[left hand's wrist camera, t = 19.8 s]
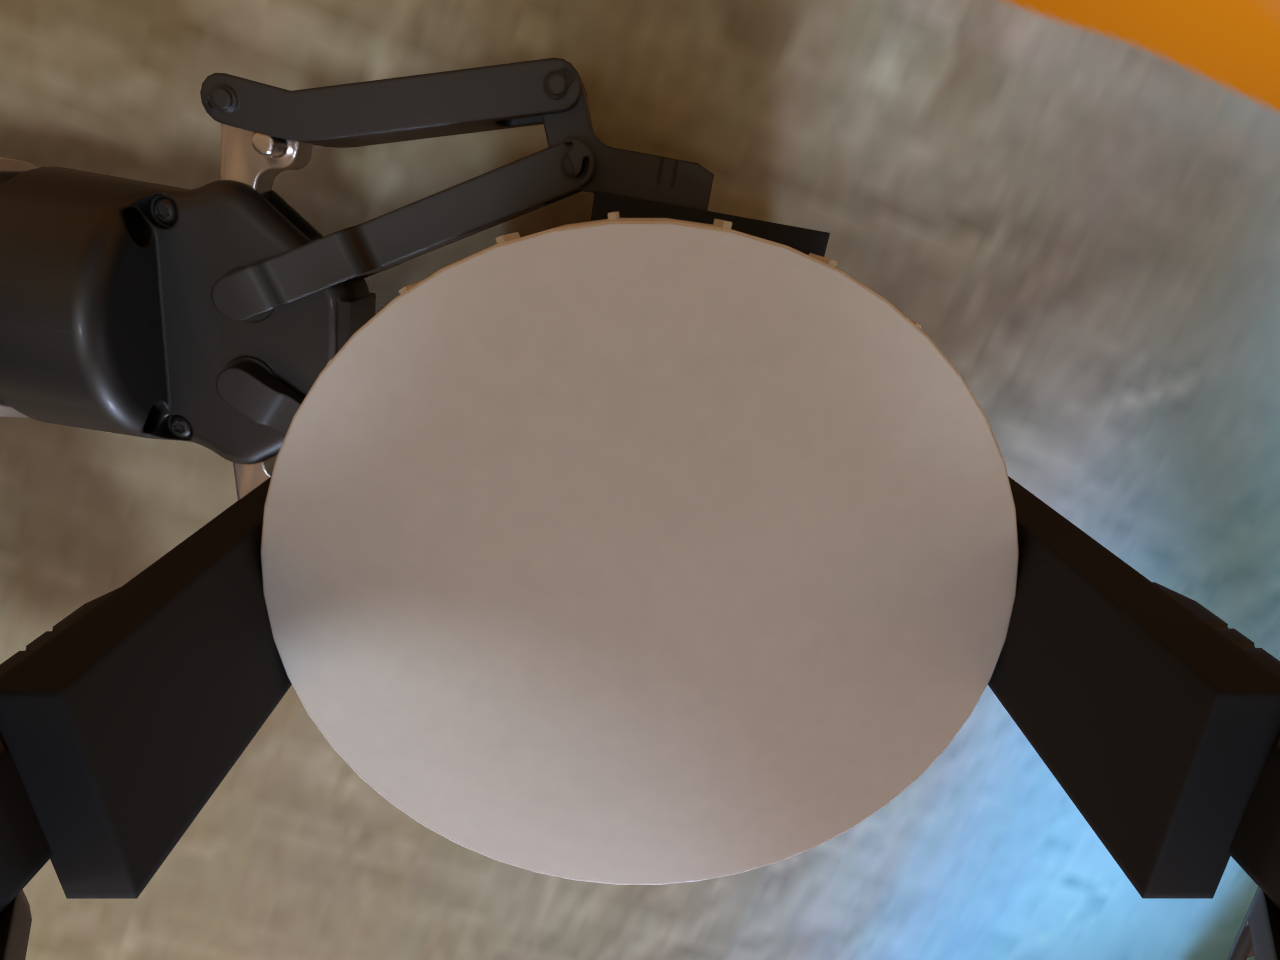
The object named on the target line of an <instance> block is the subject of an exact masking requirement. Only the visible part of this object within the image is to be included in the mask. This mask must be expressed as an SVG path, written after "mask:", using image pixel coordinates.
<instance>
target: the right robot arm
mask: <svg viewBox="0 0 1280 960" xmlns="http://www.w3.org/2000/svg"><path fill="white" fill-rule="evenodd" d="M200 93H201V100H202V104H203V106H204V108H205V110H206V111H207V113H208V114H209V115H210V116H211V117H212V118H213V119H214V120H216V121H218V122H220V123H222V134H221V174H220V180H219V181H214V182H211V183H209V184H207V185H205V186H203V187H200V188H196V189H192V190H190V189H183V188H177V187H171V186H166V185H160V184H154V183H148V182H142V181H137V180H131V179H125V178H119V177H114V176H108V175H102V174H96V173H90V172H85V171H79V170H73V169H67V168H60V167H41V168H40V167H38V166H36V165H33V164H31V163H29V162H27V161H22V160H16V159H10V158H4V157H0V416H1V417H17V418H27V417H30V418H33V419H36V420H39V421H42V422H48V423H54V424H60V425H67V426H73V427H80V428H86V429H93V430H99V431H106V432H112V433H119V434H125V435H132V436H138V437H145V438H153V439H165V440H182V441H190V442H194V443H197V444H200V445H202V446H205V447H207V448H209V449H210V450H212V451H214V452H215V453H217V454H218V455H220V456H221V457H223V458H225V459H227V460H229V461H231V462H233V465H234V473H235V481H236V488H237V496H238V501H239V500H240V499H241V498H243V497H244V496H245V495H247V494H248V493H249V492H251V491H252V490H253V489H255V488H256V487H257V486H259V485H260V484H262V483H263V482H264V481H266V480H267V479H268V478H270V477H271V476H272V472H273V468H274V464H275V460H276V458H277V454H278V453H279V450H280V448H281V446H282V443H283V441H284V438H285V436H286V434H287V431H288V429H289V426H290V424H291V422H292V419H293V417H294V415H295V413H296V412H297V410H298V408H299V407H300V405H301V404H302V402H303V400H304V399H305V397H306V395H307V394H308V392H309V390H310V389H311V387H312V386H313V384H314V382H315V381H316V379H317V377H318V376H319V374H320V373H321V372H322V370H323V369H324V368H325V367H326V366H327V363H328V362H329V361H330V360H331V359H333V358H334V356H335V355H336V354H337V353H338V352H339V350H340V349H341V348H342V347H343V346H344V345H345V343H346V342H347V341H348V340H349V339H350V338H351V336H352V335H353V334H354V333H355V332H356V331H358V330H359V329H360V328H361V327H362V326H363V325H364V324H366V323H367V322H368V321H369V320H370V319H371V318H373V317H374V316H375V301H376V294H375V293H369V289H368V286H367V284H366V281H365V279H364V278H366V277H369V276H371V275H374V274H376V273H379V272H381V271H384V270H387V269H389V268H392V267H394V266H397V265H399V264H401V263H403V262H405V261H407V260H410V259H412V258H415V257H417V256H420V255H422V254H425V253H428V252H430V251H433V250H435V249H438V248H440V247H443V246H445V245H448V244H450V243H453V242H455V241H458V240H460V239H463V238H465V237H468V236H470V235H473V234H475V233H478V232H480V231H483V230H485V229H488V228H491V227H493V226H496V225H498V224H501V223H503V222H506V221H508V220H511V219H513V218H516V217H518V216H521V215H523V214H526V213H528V212H531V211H533V210H536V209H538V208H541V207H543V206H546V205H548V204H551V203H554V202H556V201H559V200H561V199H564V198H566V197H569V196H571V195H574V194H576V193H579V192H581V191H587V192H592V193H595V194H594V202H593V209H592V217H591V220H592V221H597V220H604V219H608V213H611V212H619V218H669V219H676V220H683V221H690V222H697V223H704V224H711V225H713V223H714V219H719V220H724V221H729V222H732V227H731V229H732V230H735V231H738V232H742V233H745V234H749V235H752V236H756V237H759V238H762V239H766V240H769V241H773V242H776V243H780V244H783V245H786V246H789V247H791V248H793V249H796V250H798V251H800V252H802V253H804V254H807V255H809V254H810V253H812V254H815V255H819V256H822V257H824V255H825V251H826V247H827V243H828V239H829V235H830V233H827V232H821V231H815V230H810V229H804V228H799V227H793V226H788V225H782V224H776V223H771V222H765V221H760V220H754V219H749V218H743V217H737V216H732V215H726V214H721V213H715V212H710V211H707V208H708V203H709V198H710V192H711V187H712V182H713V176H714V174H712V173H711V172H710V171H708V170H707V169H705V168H704V167H702V166H701V165H699V164H698V163H693V162H688V161H682V160H676V159H671V158H666V157H660V156H655V155H649V154H644V153H639V152H633V151H628V150H622V149H617V148H612V147H609V146H606V145H605V144H603V143H602V142H600V141H599V140H598V139H597V137H596V136H595V134H594V131H593V128H592V123H591V118H590V113H589V108H588V102H587V94H586V91H585V87H584V85H583V83H582V81H581V79H580V76H579V74H578V72H577V71H576V70H575V68H574V67H573V66H572V64H571V63H569V62H567V61H566V60H564V59H558V58H550V59H542V60H534V61H526V62H518V63H510V64H502V65H494V66H486V67H478V68H470V69H462V70H454V71H446V72H438V73H430V74H422V75H414V76H407V77H399V78H391V79H383V80H375V81H367V82H359V83H351V84H343V85H335V86H327V87H319V88H311V89H303V90H295V91H289V90H285V89H282V88H278V87H274V86H270V85H266V84H263V83H259V82H255V81H251V80H248V79H244V78H240V77H236V76H233V75H229V74H225V73H214V74H212V75H210V76H208V77H207V78H206V79H205V81H204V82H203V83H202V88H201V92H200ZM539 124H544V127H545V132H546V136H547V141H548V146H549V148H546V149H544V150H541V151H539V152H536V153H534V154H531V155H529V156H526V157H524V158H522V159H519V160H517V161H514V162H512V163H509V164H507V165H504V166H502V167H500V168H497V169H495V170H492V171H490V172H487V173H485V174H482V175H480V176H477V177H475V178H473V179H470V180H468V181H465V182H463V183H460V184H458V185H455V186H453V187H450V188H448V189H446V190H443V191H441V192H438V193H436V194H433V195H431V196H428V197H426V198H423V199H421V200H419V201H416V202H414V203H411V204H409V205H406V206H404V207H401V208H399V209H396V210H394V211H392V212H389V213H387V214H384V215H382V216H379V217H377V218H374V219H372V220H370V221H367V222H365V223H362V224H359V225H357V226H354V227H350V228H346V229H343V230H340V231H337V232H335V233H332V234H330V235H327V236H325V237H324V236H322V235H321V234H320V233H319V232H318V231H317V230H316V229H315V228H314V227H313V226H312V225H310V224H309V223H308V222H307V221H306V220H305V219H304V218H303V217H302V216H301V215H300V214H299V213H297V212H296V211H295V210H294V209H293V208H292V207H291V206H290V205H289V204H288V203H287V202H285V201H284V200H283V199H282V198H281V197H280V196H279V195H278V194H277V193H275V192H274V191H273V190H272V184H273V181H274V179H275V177H276V176H277V175H278V174H279V173H280V172H282V171H285V170H299V169H301V168H304V167H305V166H306V165H307V164H308V163H309V161H310V159H311V155H312V146H313V145H319V146H325V147H339V148H344V147H359V146H367V145H375V144H383V143H392V142H400V141H408V140H416V139H424V138H433V137H441V136H449V135H457V134H465V133H474V132H482V131H490V130H498V129H506V128H515V127H523V126H531V125H539Z"/></svg>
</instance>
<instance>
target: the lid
mask: <svg viewBox="0 0 1280 960" xmlns="http://www.w3.org/2000/svg"><path fill="white" fill-rule="evenodd" d="M731 227H732V222H729V221H724V220H719V219H714V223H713V225H711V224H704V223H697V222H690V221H683V220H676V219H669V218H619V212H611V213H608V219H604V220H597V221H589V222H582V223H575V224H567V225H563V226H559V227H556V228H552V229H549V230H545V231H542V232H538V233H534V234H531V235H527V236H524V237H520V235H519V233H518V232H515V233H510V234H506V235H502V236H499V237H496V238H495V240H496V242H497V244H496V245H493V246H491V247H489V248H486V249H484V250H482V251H480V252H477V253H475V254H473V255H471V256H469V257H466V258H464V259H462V260H460V261H457V262H455V263H453V264H451V265H448V266H446V267H444V268H442V269H440V270H439V271H437V272H435V273H434V274H432V275H431V276H429V277H428V278H426V279H424V280H422V281H419V282H416V283H414V284H411V285H408V286H405V287H403V288H402V289H400V290H399V291H398V292H399V293H400V294H401V295H399V296H398V297H396V298H394V299H393V300H392V301H391V302H390V303H389V304H388V305H386V306H385V307H384V308H383V309H382V310H381V311H379V312H378V313H377V314H376V315H375V316H374V317H373V318H371V319H370V320H369V321H368V322H367V323H366V324H364V325H363V326H362V327H361V328H360V329H359V330H358V331H356V332H355V333H354V334H353V335H352V336H351V338H350V339H349V340H348V341H347V342H346V343H345V345H344V346H343V347H342V348H341V349H340V350H339V352H338V353H337V354H336V355H335V356H334V358H333V359H331V360H330V361H329V362H328V363H327V366H326V367H325V368H324V369H323V370H322V372H321V373H320V374H319V376H318V377H317V379H316V381H315V382H314V384H313V386H312V387H311V389H310V390H309V392H308V394H307V395H306V397H305V399H304V400H303V402H302V404H301V405H300V407H299V408H298V410H297V412H296V413H295V415H294V417H293V419H292V422H291V424H290V426H289V429H288V431H287V434H286V436H285V438H284V441H283V443H282V446H281V448H280V450H279V453H278V455H277V458H276V460H275V464H274V468H273V472H272V476H271V480H270V485H269V489H268V493H267V497H266V501H265V505H264V516H263V528H262V540H261V564H262V579H263V593H264V598H265V602H266V607H267V611H268V616H269V620H270V625H271V629H272V634H273V638H274V641H275V644H276V646H277V649H278V652H279V654H280V657H281V660H282V662H283V665H284V668H285V670H286V673H287V676H288V678H289V680H290V681H291V683H292V685H293V687H294V689H295V691H296V693H297V694H298V696H299V698H300V700H301V702H302V704H303V706H304V707H305V709H306V711H307V713H308V714H309V716H310V717H311V719H312V720H313V721H314V723H315V724H316V725H317V727H318V728H319V730H320V731H321V732H322V734H323V735H324V737H325V738H326V739H327V741H328V742H329V743H330V745H331V746H332V747H333V749H334V750H335V751H336V752H337V753H338V754H339V755H340V756H341V757H342V758H343V759H344V760H345V761H346V763H347V764H348V765H349V766H350V767H351V768H352V769H353V770H354V771H355V772H356V773H357V774H358V776H359V777H360V778H362V779H363V780H364V781H365V782H366V783H368V784H369V785H370V786H371V787H372V788H373V789H375V790H376V791H377V792H378V793H379V794H380V795H382V796H383V797H384V798H385V799H386V800H387V801H389V802H390V803H391V804H392V805H394V806H395V807H397V808H398V809H400V810H401V811H403V812H404V813H406V814H407V815H409V816H410V817H412V818H413V819H414V820H416V821H417V822H419V823H420V824H422V825H423V826H425V827H427V828H429V829H430V830H432V831H434V832H436V833H438V834H440V835H442V836H444V837H445V838H447V839H449V840H451V841H453V842H455V843H457V844H459V845H460V846H463V847H465V848H468V849H470V850H473V851H475V852H477V853H480V854H482V855H485V856H487V857H490V858H492V859H495V860H497V861H500V862H503V863H507V864H510V865H513V866H517V867H520V868H523V869H527V870H530V871H533V872H537V873H542V874H547V875H552V876H557V877H562V878H567V879H572V880H578V881H588V882H598V883H608V884H634V885H660V884H671V883H681V882H692V881H701V880H707V879H712V878H717V877H722V876H728V875H733V874H738V873H742V872H746V871H749V870H752V869H756V868H759V867H763V866H766V865H770V864H773V863H776V862H780V861H782V860H785V859H787V858H790V857H792V856H794V855H797V854H799V853H802V852H804V851H807V850H809V849H812V848H814V847H817V846H819V845H821V844H823V843H824V842H826V841H828V840H830V839H832V838H834V837H836V836H838V835H840V834H841V833H843V832H845V831H847V830H849V829H851V828H853V827H854V826H856V825H857V824H859V823H860V822H862V821H863V820H865V819H866V818H868V817H869V816H871V815H872V814H874V813H875V812H877V811H878V810H880V809H881V808H883V807H884V806H886V805H887V804H888V803H889V802H891V801H892V800H893V799H894V798H895V797H897V796H898V795H899V794H900V793H901V792H902V791H904V790H905V789H906V788H907V787H908V786H910V785H911V784H912V783H913V782H914V781H915V780H917V779H918V778H919V777H920V776H921V775H922V774H923V773H924V771H925V770H926V769H927V768H928V767H929V766H930V765H931V764H932V763H933V762H934V761H935V760H936V759H937V758H938V757H939V755H940V754H941V753H942V752H943V751H944V750H945V749H946V748H947V747H948V745H949V744H950V742H951V741H952V740H953V738H954V737H955V736H956V734H957V733H958V731H959V730H960V729H961V727H962V726H963V725H964V723H965V722H966V721H967V719H968V718H969V716H970V715H971V713H972V712H973V710H974V708H975V706H976V704H977V702H978V701H979V699H980V697H981V695H982V693H983V691H984V690H985V688H986V686H987V684H988V682H989V681H990V679H991V676H992V674H993V671H994V669H995V666H996V663H997V661H998V658H999V655H1000V653H1001V650H1002V648H1003V645H1004V642H1005V640H1006V635H1007V631H1008V626H1009V622H1010V618H1011V613H1012V609H1013V604H1014V600H1015V595H1016V583H1017V571H1018V558H1019V549H1018V536H1017V523H1016V509H1015V504H1014V500H1013V496H1012V491H1011V487H1010V483H1009V479H1008V474H1007V470H1006V466H1005V462H1004V459H1003V457H1002V455H1001V452H1000V450H999V447H998V445H997V442H996V440H995V437H994V435H993V432H992V430H991V428H990V425H989V423H988V420H987V418H986V416H985V414H984V413H983V411H982V410H981V408H980V406H979V405H978V403H977V401H976V400H975V398H974V396H973V395H972V393H971V391H970V390H969V388H968V386H967V385H966V383H965V381H964V380H963V378H962V376H961V375H960V374H959V373H958V371H957V370H956V369H955V368H954V367H953V365H952V364H951V363H950V362H949V361H948V359H947V358H946V357H945V356H944V355H943V353H942V352H941V351H940V350H939V349H938V347H937V346H936V345H935V344H934V343H933V342H932V340H931V339H930V338H929V337H928V336H927V335H926V334H925V333H924V332H923V331H922V330H921V329H922V327H921V326H920V325H919V324H918V323H916V322H914V321H912V320H909V319H908V318H907V317H906V316H905V315H904V314H902V313H901V312H900V311H899V310H898V309H897V308H896V307H894V306H893V305H892V304H891V303H890V302H889V301H888V300H886V299H885V298H883V297H882V296H880V295H878V294H877V293H875V292H874V291H872V290H871V289H869V288H868V287H866V286H865V285H863V284H861V283H860V282H858V281H857V280H855V279H854V278H852V277H851V276H849V275H847V274H846V273H844V272H843V271H841V270H840V269H837V268H835V267H836V266H837V264H838V263H837V262H836V261H834V260H832V259H829V258H825V257H822V256H819V255H815V254H812V253H810V254H809V255H807V254H804V253H802V252H800V251H798V250H796V249H793V248H791V247H789V246H786V245H783V244H780V243H776V242H773V241H769V240H766V239H762V238H759V237H756V236H752V235H749V234H745V233H742V232H738V231H735V230H732V229H731Z"/></svg>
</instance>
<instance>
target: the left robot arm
mask: <svg viewBox="0 0 1280 960" xmlns="http://www.w3.org/2000/svg"><path fill="white" fill-rule="evenodd" d="M1008 479H1009V483H1010V487H1011V491H1012V496H1013V500H1014V504H1015V509H1016V523H1017V536H1018V549H1019V558H1018V571H1017V583H1016V595H1015V600H1014V604H1013V609H1012V613H1011V618H1010V622H1009V626H1008V631H1007V635H1006V640H1005V642H1004V645H1003V648H1002V650H1001V653H1000V655H999V658H998V661H997V663H996V666H995V669H994V671H993V674H992V676H991V679H990V681H989V682H988V685H989V687H990V688H991V689H992V691H993V692H994V694H995V695H996V696H997V698H998V699H999V701H1000V702H1001V703H1002V705H1003V706H1004V707H1005V709H1006V710H1007V712H1008V713H1009V714H1010V716H1011V717H1012V719H1013V720H1014V721H1015V723H1016V724H1017V725H1018V727H1019V728H1020V730H1021V731H1022V732H1023V734H1024V735H1025V736H1026V738H1027V739H1028V741H1029V742H1030V743H1031V745H1032V746H1033V748H1034V749H1035V750H1036V752H1037V753H1038V754H1039V756H1040V757H1041V759H1042V760H1043V761H1044V763H1045V764H1046V765H1047V767H1048V768H1049V770H1050V771H1051V772H1052V774H1053V775H1054V777H1055V778H1056V779H1057V781H1058V782H1059V783H1060V785H1061V786H1062V788H1063V789H1064V790H1065V792H1066V793H1067V794H1068V796H1069V797H1070V799H1071V800H1072V801H1073V803H1074V804H1075V806H1076V807H1077V808H1078V810H1079V811H1080V812H1081V814H1082V815H1083V817H1084V818H1085V819H1086V821H1087V822H1088V824H1089V825H1090V826H1091V828H1092V829H1093V830H1094V832H1095V833H1096V835H1097V836H1098V837H1099V839H1100V840H1101V841H1102V843H1103V844H1104V846H1105V847H1106V848H1107V850H1108V851H1109V853H1110V854H1111V855H1112V857H1113V858H1114V859H1115V861H1116V862H1117V864H1118V865H1119V866H1120V868H1121V869H1122V870H1123V872H1124V873H1125V875H1126V876H1127V877H1128V879H1129V880H1130V882H1131V883H1132V884H1133V886H1134V887H1135V888H1136V890H1137V891H1138V893H1139V894H1140V895H1141V897H1142V898H1213V896H1214V894H1215V892H1216V889H1217V887H1218V884H1219V882H1220V880H1221V877H1222V875H1223V872H1224V870H1225V868H1226V865H1227V863H1228V860H1229V858H1230V856H1232V857H1233V858H1234V860H1235V861H1236V862H1237V863H1238V864H1239V865H1240V866H1241V867H1242V868H1243V870H1244V871H1245V872H1246V873H1247V874H1248V875H1249V876H1250V877H1251V878H1252V879H1253V881H1254V882H1255V883H1256V884H1257V885H1258V886H1259V887H1258V889H1257V892H1256V894H1255V896H1254V898H1253V901H1252V903H1251V905H1250V907H1249V909H1248V912H1247V914H1246V916H1245V918H1244V921H1243V923H1242V925H1241V927H1240V930H1239V932H1238V934H1237V936H1236V939H1235V941H1234V943H1233V945H1232V948H1231V950H1230V952H1229V956H1228V960H1246V959H1247V958H1248V957H1251V956H1254V955H1255V960H1280V661H1279V660H1277V659H1276V658H1274V657H1273V656H1272V655H1270V654H1269V653H1267V652H1266V651H1265V650H1263V649H1262V648H1255V646H1254V643H1253V642H1252V641H1251V640H1249V639H1248V638H1246V637H1245V636H1244V635H1242V634H1241V633H1239V632H1238V631H1237V630H1235V629H1228V624H1227V623H1225V622H1224V621H1223V620H1221V619H1220V618H1218V617H1217V616H1216V615H1214V614H1213V613H1211V612H1210V611H1209V610H1207V609H1206V608H1204V607H1203V606H1202V605H1200V604H1199V603H1197V602H1196V601H1194V600H1192V599H1190V598H1187V597H1185V596H1183V595H1181V594H1179V593H1177V592H1175V591H1172V590H1170V589H1168V588H1166V587H1164V586H1162V585H1159V584H1157V583H1155V582H1151V581H1149V580H1148V579H1147V578H1145V577H1144V576H1143V575H1141V574H1140V573H1138V572H1137V571H1136V570H1134V569H1133V568H1132V567H1130V566H1129V565H1128V564H1126V563H1125V562H1124V561H1122V560H1121V559H1120V558H1118V557H1117V556H1115V555H1114V554H1113V553H1111V552H1110V551H1109V550H1107V549H1106V548H1105V547H1103V546H1102V545H1101V544H1099V543H1098V542H1097V541H1095V540H1094V539H1092V538H1091V537H1090V536H1088V535H1087V534H1086V533H1084V532H1083V531H1082V530H1080V529H1079V528H1078V527H1076V526H1075V525H1074V524H1072V523H1071V522H1069V521H1068V520H1067V519H1065V518H1064V517H1063V516H1061V515H1060V514H1059V513H1057V512H1056V511H1055V510H1053V509H1052V508H1051V507H1049V506H1048V505H1046V504H1045V503H1044V502H1042V501H1041V500H1040V499H1038V498H1037V497H1036V496H1034V495H1033V494H1032V493H1030V492H1029V491H1028V490H1026V489H1025V488H1023V487H1022V486H1021V485H1019V484H1018V483H1017V482H1015V481H1014V480H1013V479H1011V478H1010V477H1009V476H1008ZM270 480H271V477H270V478H268V479H267V480H266V481H264V482H263V483H262V484H260V485H259V486H257V487H256V488H255V489H253V490H252V491H251V492H249V493H248V494H247V495H245V496H244V497H243V498H241V499H240V500H239V501H237V502H236V503H234V504H233V505H232V506H230V507H229V508H228V509H226V510H225V511H224V512H222V513H221V514H220V515H218V516H217V517H216V518H214V519H213V520H211V521H210V522H209V523H207V524H206V525H205V526H203V527H202V528H201V529H199V530H198V531H197V532H195V533H194V534H193V535H191V536H190V537H188V538H187V539H186V540H184V541H183V542H182V543H180V544H179V545H178V546H176V547H175V548H174V549H172V550H171V551H170V552H168V553H167V554H165V555H164V556H163V557H161V558H160V559H159V560H157V561H156V562H155V563H153V564H152V565H151V566H149V567H148V568H147V569H145V570H144V571H142V572H141V573H140V574H138V575H137V576H136V577H134V578H133V579H132V580H130V581H129V582H128V583H126V584H125V585H124V586H122V587H120V588H118V589H116V590H114V591H112V592H109V593H107V594H105V595H103V596H101V597H99V598H97V599H94V600H92V601H90V602H88V603H86V604H84V605H83V606H81V607H80V608H78V609H77V610H76V611H74V612H73V613H71V614H70V615H69V616H67V617H66V618H64V619H63V620H62V621H60V622H59V623H58V624H56V625H55V626H53V630H52V631H46V632H45V633H44V634H42V635H41V636H39V637H38V638H37V639H35V640H34V641H33V642H31V643H30V644H28V645H27V646H26V651H19V652H17V653H16V654H15V655H13V656H12V657H10V658H9V659H8V660H6V661H5V662H3V663H2V664H1V665H0V960H25V957H26V951H27V945H28V940H29V934H30V928H31V922H32V918H31V912H30V906H29V903H28V901H27V898H26V896H25V894H24V892H23V888H24V887H25V886H26V884H27V883H28V882H29V881H30V880H31V879H32V878H33V877H34V876H35V874H36V873H37V872H38V871H39V870H40V869H41V868H42V867H43V866H44V864H45V863H46V862H47V861H48V860H49V859H51V862H52V864H53V866H54V869H55V871H56V874H57V876H58V878H59V881H60V883H61V886H62V888H63V890H64V893H65V895H66V898H138V896H139V895H140V893H141V892H142V891H143V889H144V888H145V887H146V885H147V884H148V882H149V881H150V880H151V878H152V877H153V875H154V874H155V873H156V871H157V870H158V869H159V867H160V866H161V864H162V863H163V862H164V860H165V859H166V858H167V856H168V855H169V853H170V852H171V851H172V849H173V848H174V846H175V845H176V844H177V842H178V841H179V840H180V838H181V837H182V835H183V834H184V833H185V831H186V830H187V829H188V827H189V826H190V824H191V823H192V822H193V820H194V819H195V817H196V816H197V815H198V813H199V812H200V811H201V809H202V808H203V806H204V805H205V804H206V802H207V801H208V800H209V798H210V797H211V795H212V794H213V793H214V791H215V790H216V788H217V787H218V786H219V784H220V783H221V782H222V780H223V779H224V777H225V776H226V775H227V773H228V772H229V770H230V769H231V768H232V766H233V765H234V764H235V762H236V761H237V759H238V758H239V757H240V755H241V754H242V753H243V751H244V750H245V748H246V747H247V746H248V744H249V743H250V741H251V740H252V739H253V737H254V736H255V735H256V733H257V732H258V730H259V729H260V728H261V726H262V725H263V724H264V722H265V721H266V719H267V718H268V717H269V715H270V714H271V712H272V711H273V710H274V708H275V707H276V706H277V704H278V703H279V701H280V700H281V699H282V697H283V696H284V695H285V693H286V692H287V690H288V689H289V688H290V686H291V685H292V683H291V681H290V680H289V678H288V676H287V673H286V670H285V668H284V665H283V662H282V660H281V657H280V654H279V652H278V649H277V646H276V644H275V641H274V638H273V634H272V629H271V625H270V620H269V616H268V611H267V607H266V602H265V598H264V593H263V579H262V564H261V540H262V528H263V516H264V505H265V501H266V497H267V493H268V489H269V485H270Z"/></svg>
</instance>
